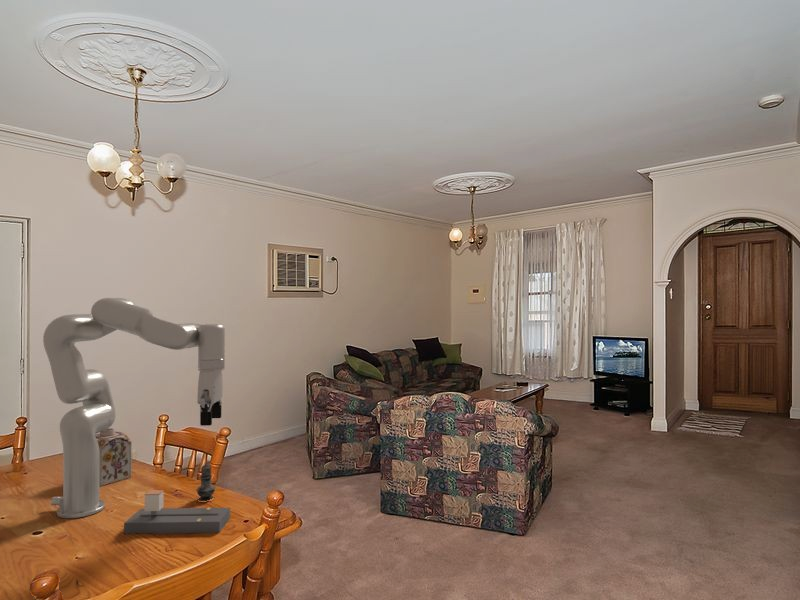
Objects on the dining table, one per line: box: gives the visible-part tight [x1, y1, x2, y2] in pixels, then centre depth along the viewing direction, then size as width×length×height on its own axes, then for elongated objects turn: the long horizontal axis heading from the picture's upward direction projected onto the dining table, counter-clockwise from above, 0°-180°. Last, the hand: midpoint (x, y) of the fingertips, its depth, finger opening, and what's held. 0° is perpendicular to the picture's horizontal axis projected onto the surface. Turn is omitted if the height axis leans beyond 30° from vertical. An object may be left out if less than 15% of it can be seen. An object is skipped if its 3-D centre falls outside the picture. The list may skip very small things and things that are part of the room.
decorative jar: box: [95, 427, 133, 487], centre depth 189 cm, size 12×12×18 cm
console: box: [123, 507, 231, 535], centre depth 150 cm, size 26×10×3 cm, turn 92°
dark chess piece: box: [195, 462, 216, 501], centre depth 170 cm, size 6×6×12 cm
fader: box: [144, 489, 165, 515], centre depth 149 cm, size 4×3×6 cm
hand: (211, 421), depth 159 cm, fingers open, 9 cm apart
